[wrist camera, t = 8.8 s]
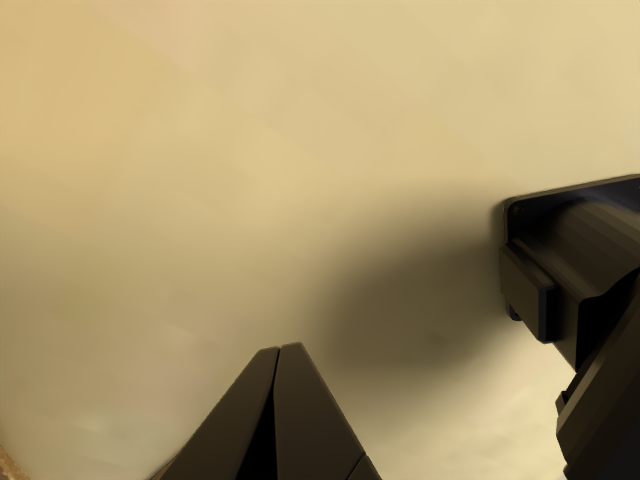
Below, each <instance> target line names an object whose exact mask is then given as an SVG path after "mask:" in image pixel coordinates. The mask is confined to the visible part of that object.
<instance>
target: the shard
mask: <svg viewBox="0 0 640 480" xmlns="http://www.w3.org/2000/svg"><path fill="white" fill-rule="evenodd" d="M0 480H30V479H29V478H28V477H27V475H26V474H25V473H24V472H23V471H22V470H21V469H20V468H19V467H18V466H17V465H16V464H15V462H14V461H13V460H12V459H11V458H10V457H9V456H8V454H7V453H6V452H5V451H4V449H3V448H2V446H1V445H0Z"/></svg>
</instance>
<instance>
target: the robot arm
mask: <svg viewBox="0 0 640 480" xmlns="http://www.w3.org/2000/svg"><path fill="white" fill-rule="evenodd" d="M639 186H640V174H635V175H630V176H624V177H619V178H614V179H609V180H603V181H598V182H593V183H587V184H582V185H577V186H572V187H566V188H561V189H556V190H551V191H545V192H540V193H535V194H530V195H524V196H519V197H514V198H512V199H510V200H508V201H507V202H506V204H505V205H504V243H503V244H502V245H501V247H500V249H499V254H500V285H501V293H502V294H503V296H504V297H505V298H506V311H507V314H508V315H509V316H510V318H511V319H512V320H515V321H523V322H524V323H525V325H526V326H527V327H528V329H529V330H530V331H531V332H532V334H533V335H534V336H535V338H536V339H537V340H538V341H540V342H541V343H543V344H548V343H553V345H554V346H555V347H556V348H557V350H558V351H559V352H560V353H561V355H562V356H563V357H564V358H565V360H566V361H567V362H568V363H569V365H570V366H571V367H572V368H573V370H574V371H575V372H576V373H577V374H576V375H575V377H574V378H573V380H572V382H571V383H570V385H569V386H568V388H567V389H566V391H562V392H561V393H560V395H559V397H558V398H557V400H556V401H555V404H556V408H557V412H558V416H559V417H558V418H557V428H556V437H557V440H558V442H559V445H560V448H561V451H562V453H563V456H564V459H565V461H566V462H567V464H566V466H565V467H564V469H563V472H564V475H565V477H566V479H567V480H640V189H639ZM518 205H520V210H519V211H518V212H516V213H513V209H514V208H515V207H516V206H518ZM515 311H516V312H515ZM158 480H382V479H381V477H380V475H379V474H378V472H377V471H376V469H375V467H374V465H373V464H372V462H371V460H370V459H369V457H368V456H367V455H366V452H365V450H364V449H363V447H362V445H361V444H360V442H359V440H358V438H357V437H356V435H355V433H354V432H353V430H352V428H351V426H350V425H349V423H348V421H347V420H346V418H345V416H344V414H343V413H342V411H341V409H340V408H339V406H338V404H337V402H336V401H335V399H334V397H333V395H332V394H331V392H330V390H329V389H328V387H327V385H326V383H325V382H324V380H323V378H322V377H321V375H320V373H319V371H318V370H317V368H316V366H315V365H314V363H313V361H312V359H311V358H310V356H309V354H308V353H307V351H306V349H305V347H304V346H303V344H302V343H301V342H296V343H291V344H286V345H283V346H281V348H280V347H278V346H276V347H270V348H265V349H261V350H259V351H258V352H257V353H256V354H255V356H254V357H253V358H252V360H251V361H250V362H249V363H248V365H247V366H246V367H245V369H244V370H243V371H242V372H241V374H240V375H239V376H238V378H237V379H236V380H235V381H234V383H233V384H232V385H231V387H230V388H229V389H228V390H227V392H226V393H225V394H224V396H223V397H222V398H221V399H220V401H219V402H218V403H217V405H216V406H215V407H214V408H213V410H212V411H211V412H210V414H209V415H208V416H207V417H206V419H205V420H204V421H203V423H202V424H201V425H200V426H199V428H198V429H197V430H196V432H195V433H194V434H193V435H192V437H191V438H190V439H189V441H188V442H187V443H186V444H185V446H184V447H183V448H182V450H181V451H180V452H179V453H178V455H177V456H176V457H175V459H174V460H173V461H172V462H171V464H170V465H169V466H168V468H167V469H166V470H165V471H164V473H163V474H162V475H161V477H160V478H159V479H158Z"/></svg>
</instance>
